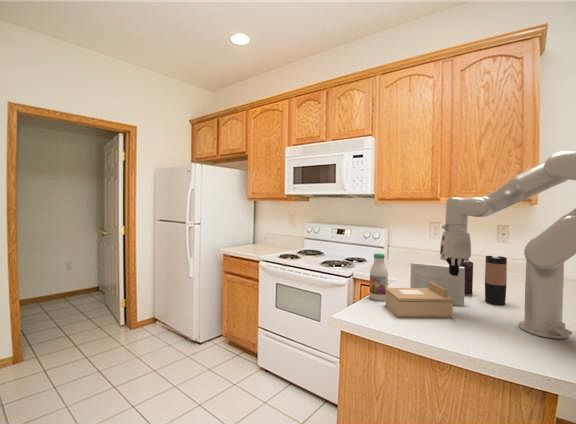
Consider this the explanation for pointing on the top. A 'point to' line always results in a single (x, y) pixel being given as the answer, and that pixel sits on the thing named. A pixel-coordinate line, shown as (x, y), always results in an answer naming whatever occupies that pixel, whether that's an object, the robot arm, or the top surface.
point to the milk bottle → (378, 278)
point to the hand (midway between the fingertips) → (453, 275)
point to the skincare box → (439, 279)
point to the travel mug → (495, 280)
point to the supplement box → (468, 277)
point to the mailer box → (419, 308)
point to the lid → (421, 293)
